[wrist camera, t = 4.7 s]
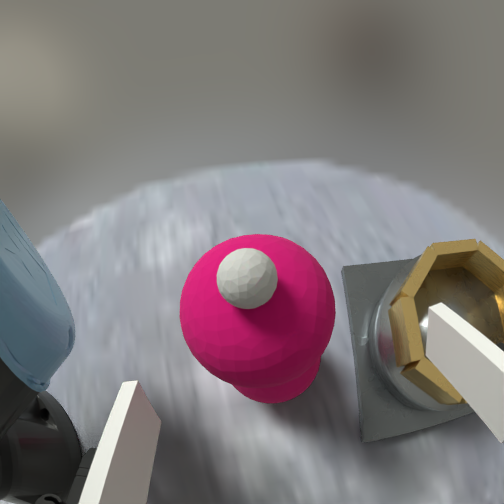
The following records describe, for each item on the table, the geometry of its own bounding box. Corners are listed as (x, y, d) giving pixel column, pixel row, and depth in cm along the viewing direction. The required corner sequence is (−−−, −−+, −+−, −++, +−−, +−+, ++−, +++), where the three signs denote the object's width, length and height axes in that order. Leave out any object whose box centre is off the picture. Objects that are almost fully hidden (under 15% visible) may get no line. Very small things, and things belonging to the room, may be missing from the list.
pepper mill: (232, 324, 28) (142, 177, 10) (313, 320, 27) (351, 159, 10) (232, 403, 25) (108, 394, 7) (317, 400, 24) (393, 392, 6)
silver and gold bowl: (361, 441, 22) (390, 454, 15) (341, 271, 29) (356, 225, 22) (503, 397, 21) (555, 387, 13) (473, 255, 28) (510, 215, 21)
